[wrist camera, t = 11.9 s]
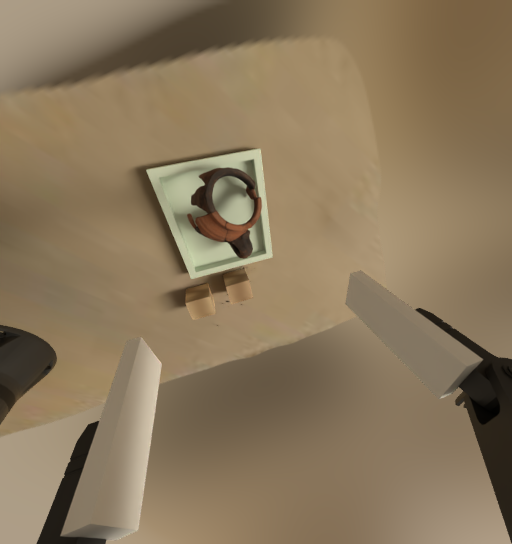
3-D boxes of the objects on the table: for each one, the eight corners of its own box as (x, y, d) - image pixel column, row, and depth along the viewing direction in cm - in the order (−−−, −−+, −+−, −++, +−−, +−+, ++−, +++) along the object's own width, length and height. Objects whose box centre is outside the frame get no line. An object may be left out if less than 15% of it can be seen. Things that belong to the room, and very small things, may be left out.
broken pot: (166, 200, 26) (178, 181, 19) (219, 170, 30) (246, 145, 23) (217, 270, 31) (242, 275, 24) (258, 237, 34) (290, 233, 27)
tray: (191, 272, 33) (191, 279, 32) (149, 168, 24) (146, 170, 23) (269, 252, 35) (272, 257, 34) (256, 148, 26) (260, 148, 25)
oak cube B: (228, 290, 38) (231, 304, 34) (222, 274, 35) (225, 287, 32) (247, 284, 38) (253, 297, 35) (244, 268, 36) (249, 280, 33)
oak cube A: (192, 305, 37) (193, 320, 34) (185, 288, 35) (185, 303, 32) (213, 299, 38) (215, 313, 34) (208, 282, 35) (209, 296, 32)
